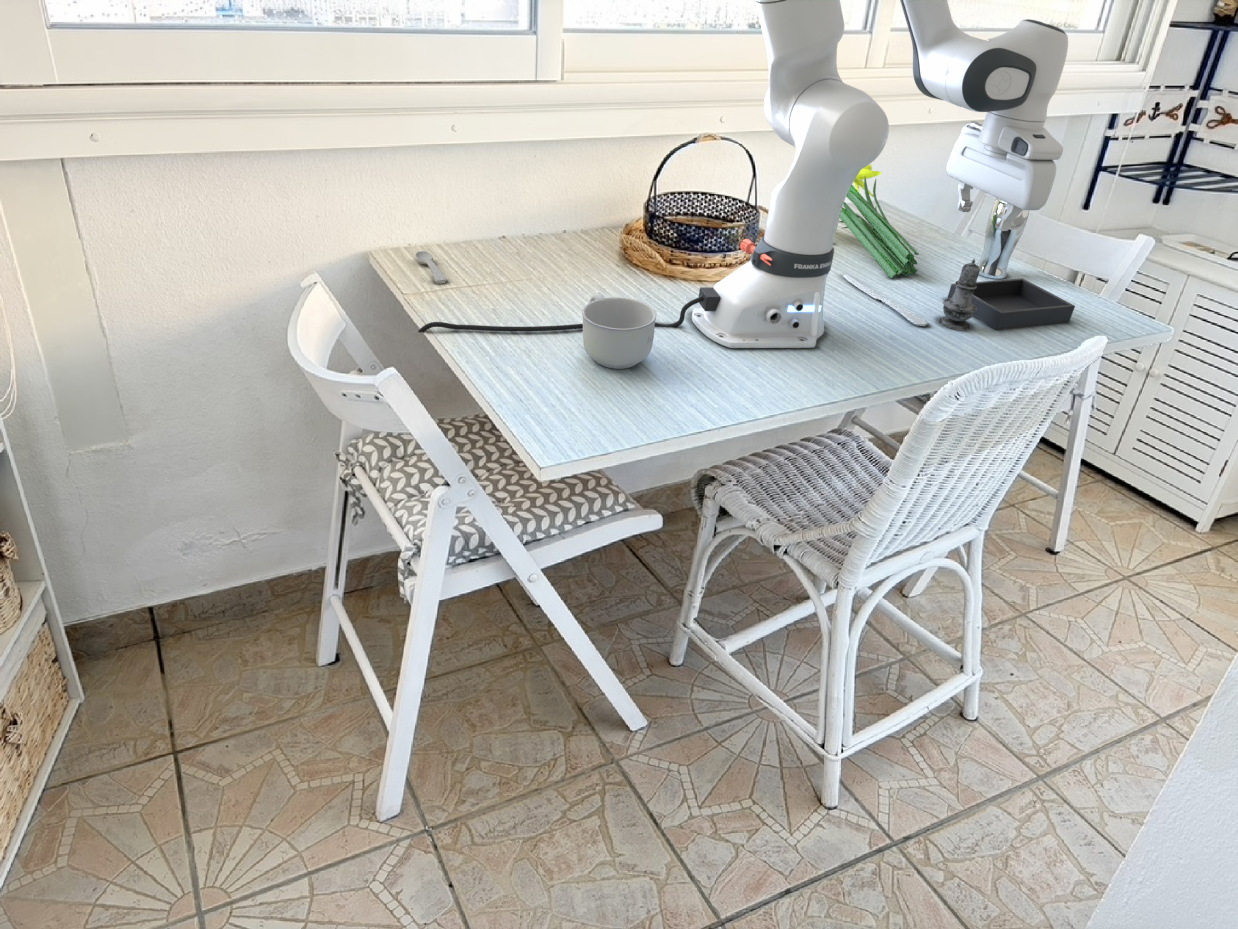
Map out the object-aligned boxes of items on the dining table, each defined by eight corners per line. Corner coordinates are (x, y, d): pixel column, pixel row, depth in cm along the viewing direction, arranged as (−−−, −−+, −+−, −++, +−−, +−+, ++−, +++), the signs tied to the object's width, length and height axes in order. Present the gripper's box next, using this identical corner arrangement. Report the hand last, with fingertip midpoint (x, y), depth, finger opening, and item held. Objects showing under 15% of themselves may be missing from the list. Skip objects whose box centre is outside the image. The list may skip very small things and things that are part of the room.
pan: (995, 330, 162) (1001, 312, 160) (946, 300, 172) (951, 283, 170) (1069, 322, 168) (1075, 305, 167) (1017, 293, 178) (1022, 278, 177)
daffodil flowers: (856, 284, 177) (777, 184, 198) (892, 312, 187) (813, 213, 208) (925, 219, 170) (835, 122, 191) (959, 251, 180) (870, 155, 201)
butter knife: (917, 324, 159) (930, 323, 160) (837, 273, 177) (850, 272, 178) (916, 327, 159) (930, 325, 161) (837, 275, 177) (849, 274, 179)
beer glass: (1015, 277, 187) (1039, 203, 179) (994, 281, 183) (1018, 207, 175) (986, 265, 191) (1009, 193, 183) (965, 269, 188) (988, 196, 180)
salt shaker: (973, 333, 160) (994, 267, 153) (938, 327, 161) (958, 261, 154) (969, 320, 165) (989, 255, 158) (935, 315, 165) (954, 250, 159)
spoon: (428, 257, 166) (428, 246, 165) (449, 286, 158) (449, 275, 157) (412, 258, 165) (412, 248, 164) (433, 288, 157) (433, 277, 156)
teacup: (660, 374, 136) (666, 324, 131) (589, 378, 132) (593, 327, 128) (632, 334, 147) (637, 286, 142) (566, 337, 144) (569, 288, 139)
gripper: (951, 117, 152) (927, 200, 160) (1041, 151, 137) (1009, 241, 144) (981, 118, 155) (955, 200, 162) (1072, 151, 139) (1039, 240, 146)
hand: (981, 219), depth 153 cm, fingers open, 8 cm apart
